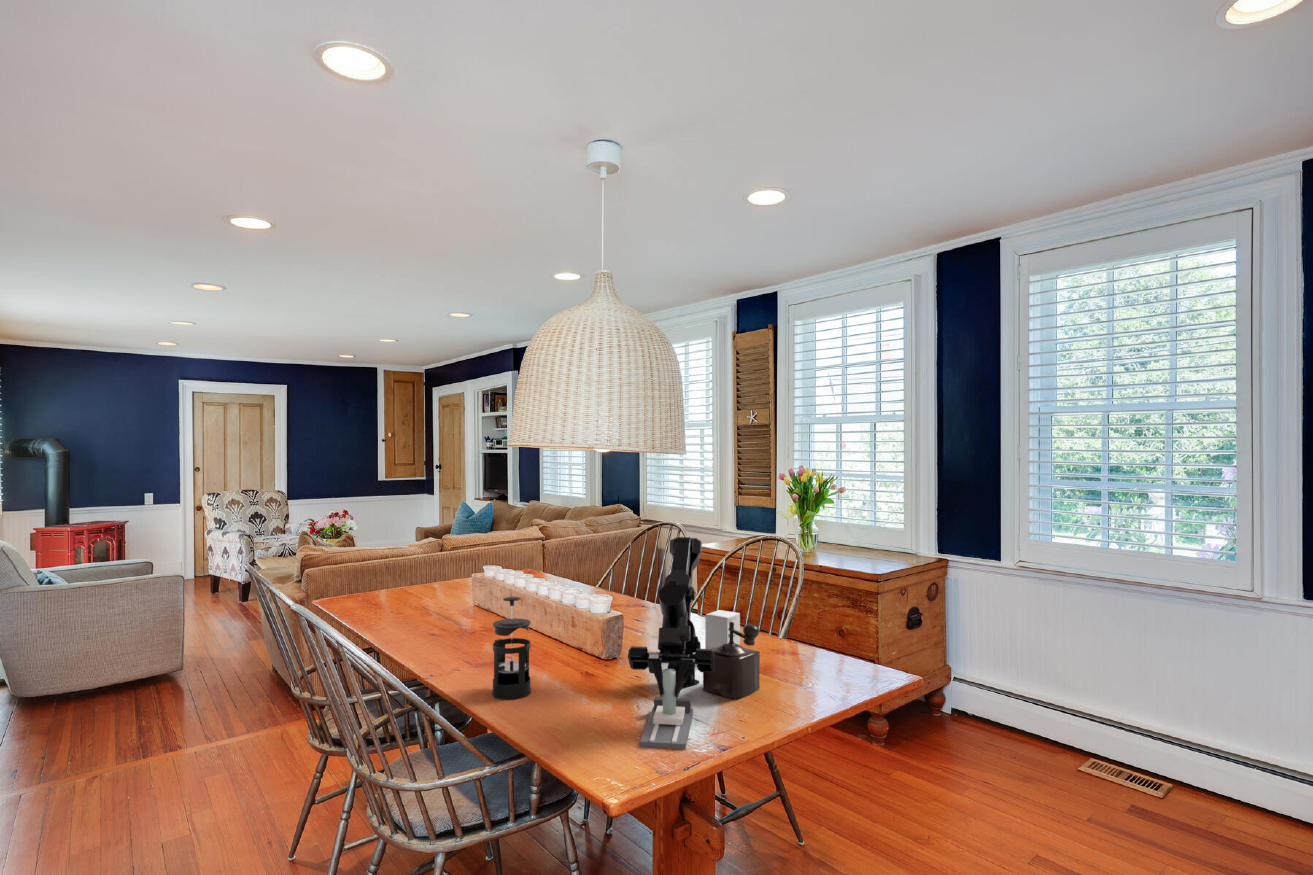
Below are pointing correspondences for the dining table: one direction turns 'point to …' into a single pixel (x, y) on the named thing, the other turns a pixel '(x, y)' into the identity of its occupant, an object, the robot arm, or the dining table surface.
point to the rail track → (668, 728)
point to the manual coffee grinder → (735, 666)
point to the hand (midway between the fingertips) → (668, 696)
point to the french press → (511, 674)
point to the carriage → (669, 702)
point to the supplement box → (720, 628)
